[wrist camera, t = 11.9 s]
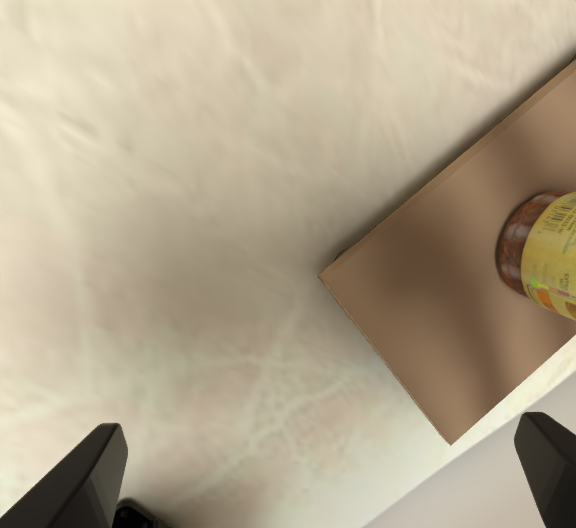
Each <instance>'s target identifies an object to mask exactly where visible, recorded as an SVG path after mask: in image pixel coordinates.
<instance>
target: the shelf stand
mask: <svg viewBox="0 0 576 528" xmlns="http://www.w3.org/2000/svg"><path fill="white" fill-rule="evenodd" d="M561 190H563V191H566V192H576V56H575V57H574V58H573V59H572V61H571V63H570V64H569V65H568V66H567V67H566V68H564V69H563V70H562V71H561V72H560V73H558V74H557V75H556V76H555V77H554V78H552V79H551V80H550V81H549V82H548V83H546V84H545V85H544V86H543V87H542V88H540V89H539V90H538V91H537V92H536V93H535V94H533V95H532V96H531V97H530V98H529V99H527V100H526V101H525V102H524V103H523V104H521V105H520V106H519V107H518V108H517V109H515V110H514V111H513V112H512V113H511V114H509V115H508V116H507V117H506V118H505V119H504V120H502V121H501V122H500V123H499V124H498V125H496V126H495V127H494V128H493V129H492V130H490V131H489V132H488V133H487V134H486V135H484V136H483V137H482V138H481V139H480V140H478V141H477V142H476V143H475V144H474V145H473V146H471V147H470V148H469V149H468V150H467V151H465V152H464V153H463V154H462V155H461V156H459V157H458V158H457V159H456V160H455V161H453V162H452V163H451V164H450V165H449V166H448V167H446V168H445V169H444V170H443V171H442V172H440V173H439V174H438V175H437V176H436V177H434V178H433V179H432V180H431V181H430V182H428V183H427V184H426V185H425V186H424V187H422V188H421V189H420V190H419V191H418V192H417V193H415V194H414V195H413V196H412V197H411V198H409V199H408V200H407V201H406V202H405V203H403V204H402V205H401V206H400V207H399V208H397V209H396V210H395V211H394V212H393V213H391V214H390V215H389V216H388V217H387V218H386V219H384V220H383V221H382V222H381V223H380V224H378V225H377V226H376V227H375V228H374V229H372V230H371V231H370V232H369V233H368V234H366V235H365V236H364V237H363V238H362V239H361V240H359V241H358V242H357V243H356V244H355V245H353V246H352V247H351V248H348V249H345V250H343V251H342V252H341V253H340V254H339V255H338V256H337V257H336V259H335V260H334V262H333V263H332V264H331V265H330V266H328V267H327V268H326V269H325V270H324V271H322V272H321V273H320V274H319V275H318V277H319V278H320V279H321V280H322V282H323V283H324V284H325V286H326V287H327V288H328V290H329V291H330V292H331V293H332V295H333V296H334V297H335V299H336V300H337V301H338V303H339V304H340V305H341V306H342V308H343V309H344V310H345V312H346V313H347V314H348V316H349V317H350V318H351V319H352V321H353V322H354V323H355V325H356V326H357V327H358V329H359V330H360V331H361V332H362V334H363V335H364V336H365V338H366V339H367V340H368V342H369V343H370V344H371V345H372V347H373V348H374V349H375V351H376V352H377V353H378V355H379V356H380V357H381V358H382V360H383V361H384V362H385V364H386V365H387V366H388V368H389V369H390V370H391V371H392V373H393V374H394V375H395V377H396V378H397V379H398V381H399V382H400V383H401V385H402V386H403V387H404V388H405V390H406V391H407V392H408V394H409V395H410V396H411V398H412V399H413V400H414V401H415V403H416V404H417V405H418V407H419V408H420V409H421V411H422V412H423V413H424V414H425V416H426V417H427V418H428V420H429V421H430V422H431V424H432V425H433V426H434V427H435V429H436V430H437V431H438V433H439V434H440V435H441V436H442V437H443V438H444V439H445V440H446V441H447V442H448V443H449V444H450V445H452V444H453V443H454V442H455V441H457V440H458V439H459V438H460V437H461V436H462V435H463V434H464V433H466V432H467V431H468V430H469V429H470V428H471V427H472V426H473V425H475V424H476V423H477V422H478V421H479V420H480V419H481V418H482V417H484V416H485V415H486V414H487V413H488V412H489V411H490V410H491V409H493V408H494V407H495V406H496V405H497V404H498V403H499V402H500V401H502V400H503V399H504V398H505V397H506V396H507V395H508V394H509V393H511V392H512V391H513V390H514V389H515V388H516V387H517V386H518V385H520V384H521V383H522V382H523V381H524V380H525V379H526V378H527V377H528V376H530V375H531V374H532V373H533V372H534V371H535V370H536V369H537V368H539V367H540V366H541V365H542V364H543V363H544V362H545V361H546V360H548V359H549V358H550V357H551V356H552V355H553V354H554V353H555V352H557V351H558V350H559V349H560V348H561V347H562V346H563V345H564V344H566V343H567V342H568V341H569V340H570V339H571V338H572V337H573V336H575V335H576V321H575V320H573V319H570V318H568V317H565V316H563V315H560V314H558V313H555V312H553V311H550V310H548V309H545V308H543V307H540V306H538V305H537V304H535V303H534V302H533V301H532V300H531V299H529V298H525V297H523V296H522V295H520V294H518V293H516V292H515V291H514V290H512V289H511V288H510V287H509V286H508V285H507V283H506V282H505V281H504V278H503V276H502V274H501V270H500V268H499V261H498V260H499V248H500V245H501V240H502V235H503V234H504V231H505V228H506V225H507V223H508V221H509V220H510V219H511V218H512V217H513V215H514V214H515V212H516V211H517V210H518V209H519V208H520V207H521V206H522V205H523V204H524V203H526V202H528V201H530V200H532V199H533V198H534V197H535V196H538V195H540V194H542V193H546V192H551V191H561Z"/></svg>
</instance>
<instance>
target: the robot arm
mask: <svg viewBox="0 0 576 528" xmlns="http://www.w3.org/2000/svg"><path fill="white" fill-rule="evenodd" d="M514 444H515V448H516V451H517V454H518V457H519V459H520V462H521V465H522V467H523V470H524V473H525V475H526V478H527V481H528V483H529V486H530V489H531V492H532V494H533V497H534V500H535V502H536V505H537V508H538V510H539V513H540V515H541V517H542V520H543V522H544V524H545V526H546V528H576V435H575V434H574V433H572V432H571V431H569V430H568V429H567V428H565V427H564V426H562V425H561V424H560V423H558V422H557V421H555V420H554V419H553V418H551V417H550V416H548V415H547V414H545V413H543V412H526V413H524V414H522V416H521V418H520V421H519V424H518V427H517V430H516V434H515V437H514ZM127 456H128V448H127V444H126V440H125V437H124V434H123V430H122V427H121V425H120V424H119V423H103V424H100V425H98V426H97V427H96V428H95V429H94V430H93V431H92V432H91V433H90V434H89V435H88V436H86V437H85V438H84V439H83V440H82V441H81V442H80V443H79V444H78V445H77V446H76V447H75V448H74V449H73V450H72V451H71V452H70V453H68V454H67V455H66V456H65V457H64V458H63V459H62V460H61V461H60V462H59V463H58V464H57V465H56V466H55V467H54V468H53V469H52V470H50V471H49V472H48V473H47V474H46V475H45V476H44V477H43V478H42V479H41V480H40V481H39V482H38V483H37V484H36V485H35V486H33V487H32V488H31V489H30V490H29V491H28V492H27V493H26V494H25V495H24V496H23V497H22V498H21V499H20V500H19V501H18V502H17V503H15V504H14V505H13V506H12V507H11V508H10V509H9V510H8V511H7V512H6V513H5V514H4V515H3V516H2V517H1V518H0V528H171V527H169V526H168V525H167V524H165V523H164V522H162V521H161V520H159V519H156V518H155V517H153V516H152V515H151V514H149V513H148V512H146V511H145V510H143V509H142V508H141V507H139V506H138V505H136V504H135V503H134V502H132V501H129V500H125V501H122V502H120V503H119V504H118V505H117V501H118V497H119V492H120V488H121V484H122V479H123V475H124V470H125V466H126V462H127ZM123 510H128V511H126V512H123Z"/></svg>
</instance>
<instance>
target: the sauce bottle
mask: <svg viewBox="0 0 576 528" xmlns="http://www.w3.org/2000/svg"><path fill="white" fill-rule="evenodd" d="M498 261H499V268H500V270H501V274H502V276H503V278H504V281H505V282H506V283H507V285H508V286H509V287H510V288H511V289H512V290H514V291H515V292H516V293H518V294H520V295H522V296H523V297H525V298H529V299H531V300H532V301H533V302H534V303H535V304H537V305H538V306H540V307H543V308H545V309H548V310H550V311H553V312H555V313H558V314H560V315H563V316H565V317H568V318H570V319H573V320H575V321H576V192H566V191H563V190H561V191H551V192H546V193H542V194H540V195H538V196H535V197H534V198H533V199H532V200H530V201H528V202H526V203H524V204H523V205H522V206H521V207H520V208H519V209H518V210H517V211H516V212H515V214H514V215H513V217H512V218H511V219H510V220H509V221H508V223H507V225H506V228H505V231H504V234H503V235H502V240H501V245H500V248H499V260H498Z"/></svg>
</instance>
